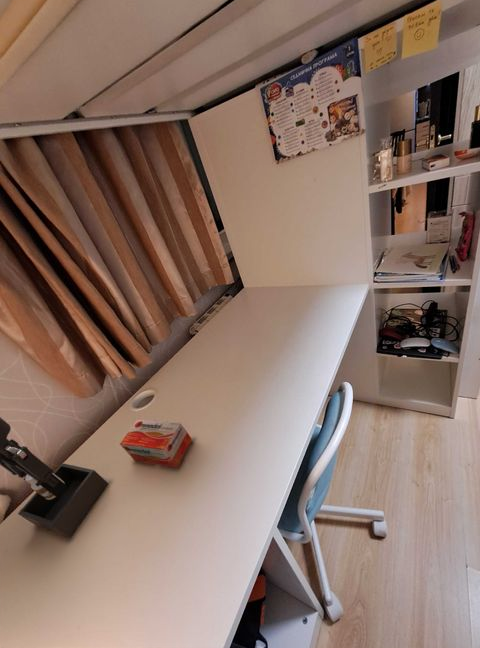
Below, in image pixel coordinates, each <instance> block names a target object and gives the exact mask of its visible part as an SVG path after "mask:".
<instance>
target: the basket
mask: <svg viewBox="0 0 480 648" xmlns="http://www.w3.org/2000/svg"><path fill="white" fill-rule="evenodd" d="M53 471H54V472H53V473H54V474H55V475H56V476H57V477H59V478H60V479H61V480H62V481H63V482H64V484H66V485H67V486H68V487H67V488H66V489H65V490H64V492H63V493H62V494H61V495H60V497H59V498H57V497H55V498H53V499H50V500H48V499H46V498H44V497H43V496H41V495H40V494H39V493H37V492H36V491H35V493H34V494H33V495H32V496H31V497H30V499H29V500H28V501H27V502H26V503H25V505H24V506H23V507H22V508H21V509H20V510H19V512H17V515H19V516H20V517H22V518H24V519H25V520H27V521H28V522H30V523H31V524H33V525H35V526H36V527H39V528H42V529H44V530H47V531H49V532H52V533H54V534H58V535H60V536H63V537H65V538H69V539H72V537H73V536H74V534H75V532H76V531H77V530H78V528H79V527H80V526H81V524H82V522H83V521H84V519H85V518H86V517H87V515H88V514H89V513H90V512H91V510H92V508H93V507H94V505H95V504H96V503H97V501H98V500H99V499H100V497H101V495H102V494H103V493H104V491H105V490H106V488H107V487H108V485H109V484H110V483H108V481H106V480H105V479H104V478H103V477H102V476H101V475H100V474H99V473H98V472H97V471H96V470H95V469H91V468H86V467H82V466H77V465H73V464H68V463H63V462H62V463H60V464H59V466H57V468H56V469H55V470H53Z"/></svg>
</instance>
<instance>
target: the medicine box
mask: <svg viewBox="0 0 480 648" xmlns="http://www.w3.org/2000/svg"><path fill="white" fill-rule="evenodd" d="M192 442H193V440H192V437H191V436H190V434H189V433H188V431H187V430H186V428H185V427H184V426H183V424H182V423H181V422H175V421H162V420H150V419H137V420H136V421H135V423H133V425H132V426H131V428H130V429H129V431H127V433H126V434H125V436H124V438H122V440H121V441H120V443H119V445H120V446H121V447H122V448H123V450H124V451H125V452H126V453H127V454H128V455H129V456H130V457H131V459H133V460H134V462H140V463H147V464H152V465H157V466H164V467H171V468H179V467H180V465H181V462H182V460H183V459H184V457H185V455H186V452H187V450H188V449H189V447H190V445H191V443H192Z"/></svg>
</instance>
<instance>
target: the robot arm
mask: <svg viewBox="0 0 480 648" xmlns="http://www.w3.org/2000/svg"><path fill="white" fill-rule="evenodd" d="M11 428H12V427H11V425H10V423H8V422H7V421H5V420H4V419H3V418H2V417H1V416H0V467H2V468H4V470H6V471H8V472H9V473H10V474H11V475H13V476H17V477H19V478H21V479H23V480H24V481H25V482H27V481H26V480H25V477H26V475H27V474H28V475H29V476H31V477H32V478H34V479H35V480H37V481H38V482H37V483H36V484H35V485H36V486H39V485H41V486H42V487H43V488H45V489H46V490H47V491H49V492H50V493H51V494H53V495H54V496H55V497H57V498H59V497H60V495H61V494H62V493H63V492H64V490H65V489H66V488H67V487H68V486H67V485H66V484H64V483H63V482H62V481H61V480H59V479H58V478H57V477H56V476H54V475H53V472H54V471H55V470H54V469H52V468H51V467H49V466H48V465H47V464H46V463H44V461H42V460H41V459H40V458H38V457H37V456H36V455H35V454H33V452H32V451H30V450H29V449H28V447H27V446H24V445H23V446H20V445H19V442H17V441H16V440H15V439H14V438H13V439H12V438H11V439H8V436H9V434H10V432H11V430H12V429H11ZM28 484H29V485H31V484H30V483H28Z"/></svg>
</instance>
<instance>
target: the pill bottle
mask: <svg viewBox="0 0 480 648" xmlns="http://www.w3.org/2000/svg"><path fill="white" fill-rule="evenodd" d="M53 475H54V476H56V475H55V474H54V473H53ZM56 477H57V476H56ZM24 478H25V480H26V481H25V480H24V481H25V482H26V483H28V484H29V483H30V484H29V485H30V488H31V489H32V490H33V491H34V492H35V493H36V492H37V493H39V494H40V495H41V496H43V497H44V498H46V499H48V500H50V499H53V498H55V496H54V495H53V494H51V493H50V492H49V491H47V490H46V489H45V488H43V487H42V486H41V485H39V486H36V485H35V484H36V483H37V482H38V481H37V480H35V479H34V478H32V477H31V476H29V475H28V474H27V475H26V477H24ZM57 478H58V479H59V480H61V479H60V478H59V477H57ZM61 481H62V480H61ZM62 482H63V481H62ZM63 483H64V482H63Z"/></svg>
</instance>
